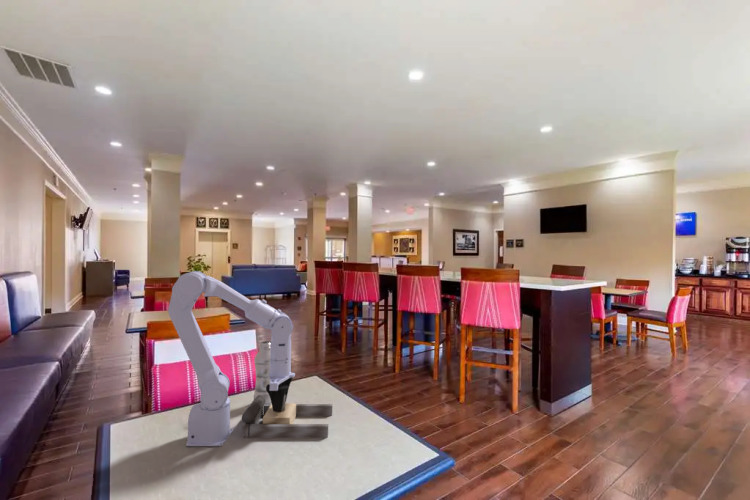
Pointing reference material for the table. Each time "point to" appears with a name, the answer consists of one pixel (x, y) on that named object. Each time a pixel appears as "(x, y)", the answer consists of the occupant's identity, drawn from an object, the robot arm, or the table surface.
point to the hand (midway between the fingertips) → (279, 407)
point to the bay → (284, 430)
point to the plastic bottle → (262, 370)
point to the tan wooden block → (281, 414)
